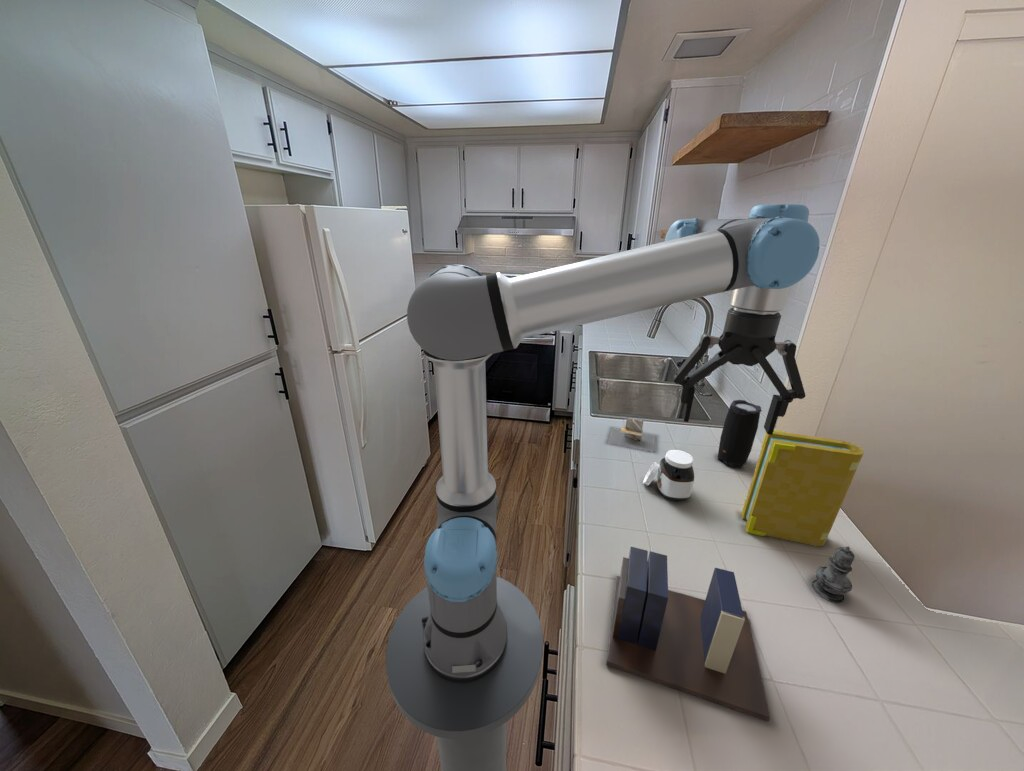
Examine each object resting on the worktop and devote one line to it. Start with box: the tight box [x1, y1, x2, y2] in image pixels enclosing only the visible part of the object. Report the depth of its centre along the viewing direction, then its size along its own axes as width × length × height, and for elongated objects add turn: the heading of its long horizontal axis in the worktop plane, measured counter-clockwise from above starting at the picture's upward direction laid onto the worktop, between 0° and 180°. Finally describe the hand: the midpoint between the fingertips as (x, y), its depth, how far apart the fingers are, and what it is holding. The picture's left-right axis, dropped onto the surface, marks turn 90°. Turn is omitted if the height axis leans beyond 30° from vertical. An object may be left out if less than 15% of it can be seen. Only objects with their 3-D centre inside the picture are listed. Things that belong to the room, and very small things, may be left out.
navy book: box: [700, 567, 745, 674], centre depth 64 cm, size 3×9×13 cm, turn 161°
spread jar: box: [642, 449, 695, 501], centre depth 105 cm, size 12×11×12 cm
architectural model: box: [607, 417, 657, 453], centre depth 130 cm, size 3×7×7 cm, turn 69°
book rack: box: [605, 546, 771, 722], centre depth 66 cm, size 24×18×14 cm
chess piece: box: [811, 546, 856, 604], centre depth 76 cm, size 6×6×12 cm
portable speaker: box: [717, 399, 762, 469], centre depth 116 cm, size 9×9×20 cm
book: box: [740, 429, 865, 547], centre depth 88 cm, size 17×7×25 cm, turn 72°
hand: (725, 424), depth 70 cm, fingers open, 13 cm apart
